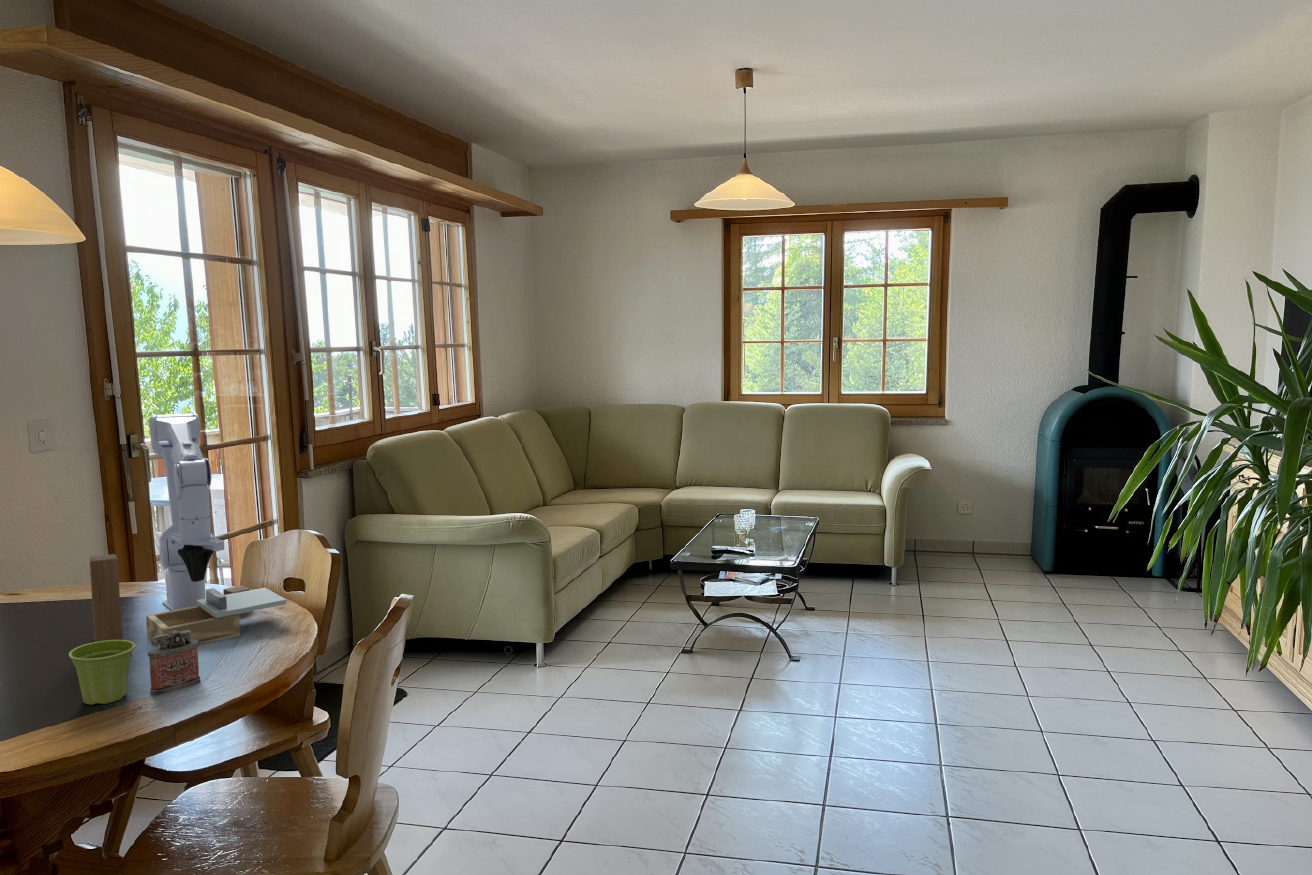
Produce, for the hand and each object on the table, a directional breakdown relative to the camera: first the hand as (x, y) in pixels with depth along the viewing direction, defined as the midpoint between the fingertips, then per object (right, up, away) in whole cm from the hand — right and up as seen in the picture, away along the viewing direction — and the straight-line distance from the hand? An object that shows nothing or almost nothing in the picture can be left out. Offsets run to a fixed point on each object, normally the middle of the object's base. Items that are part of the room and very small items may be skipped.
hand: (197, 580), depth 184 cm
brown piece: (+2, -11, -5) cm, 12 cm away
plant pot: (+3, -14, -36) cm, 39 cm away
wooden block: (-13, -11, -10) cm, 20 cm away
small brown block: (+3, -9, +12) cm, 15 cm away
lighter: (+13, -14, -31) cm, 36 cm away
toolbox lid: (+9, -5, +1) cm, 10 cm away
